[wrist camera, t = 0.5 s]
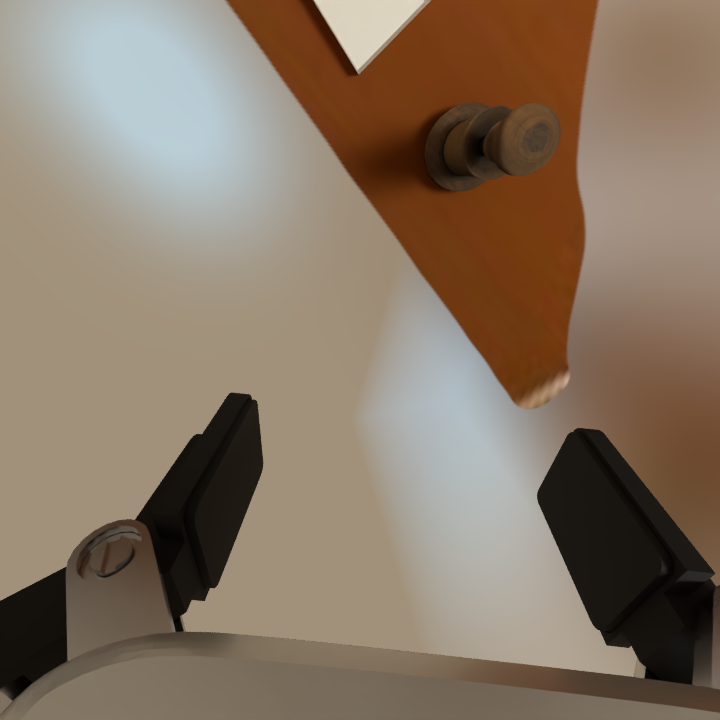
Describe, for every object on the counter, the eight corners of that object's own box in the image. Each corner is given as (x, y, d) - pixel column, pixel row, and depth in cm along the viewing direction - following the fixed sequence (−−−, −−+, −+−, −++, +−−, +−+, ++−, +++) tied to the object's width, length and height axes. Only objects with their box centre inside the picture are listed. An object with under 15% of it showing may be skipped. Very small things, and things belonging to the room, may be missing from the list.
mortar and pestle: (454, 87, 29) (537, 2, 13) (513, 133, 30) (650, 105, 15) (410, 165, 32) (434, 170, 16) (464, 204, 33) (535, 242, 18)
